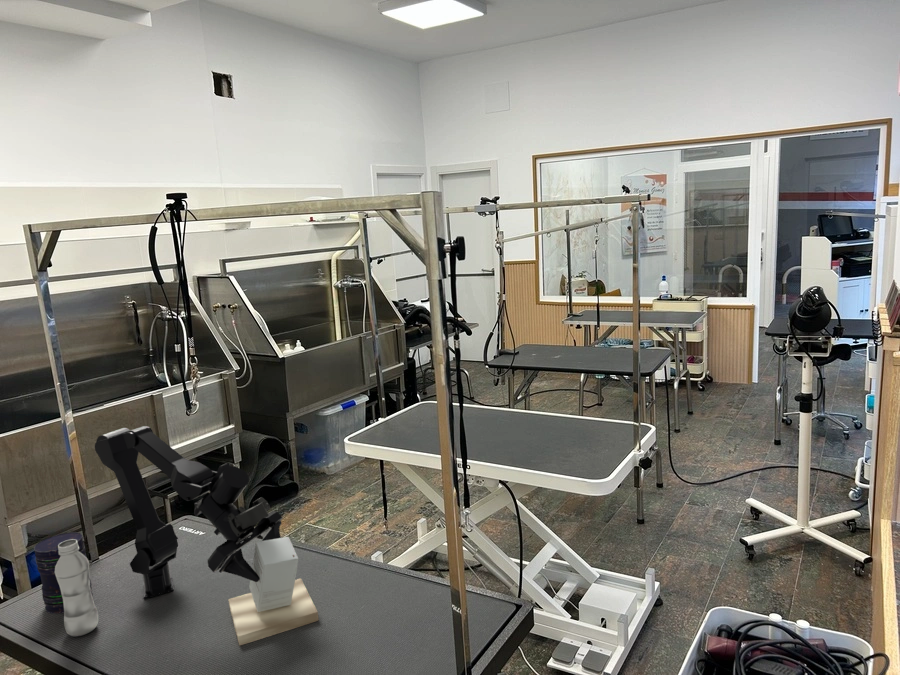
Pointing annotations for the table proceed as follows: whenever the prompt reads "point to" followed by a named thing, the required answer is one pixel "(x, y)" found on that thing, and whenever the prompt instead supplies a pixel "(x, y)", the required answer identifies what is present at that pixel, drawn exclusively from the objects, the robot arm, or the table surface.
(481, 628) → the table surface
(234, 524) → the robot arm
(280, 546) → the supplement box
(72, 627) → the plastic bottle
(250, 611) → the ash board
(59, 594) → the storage jar
